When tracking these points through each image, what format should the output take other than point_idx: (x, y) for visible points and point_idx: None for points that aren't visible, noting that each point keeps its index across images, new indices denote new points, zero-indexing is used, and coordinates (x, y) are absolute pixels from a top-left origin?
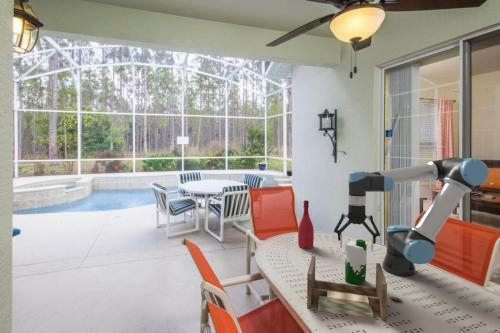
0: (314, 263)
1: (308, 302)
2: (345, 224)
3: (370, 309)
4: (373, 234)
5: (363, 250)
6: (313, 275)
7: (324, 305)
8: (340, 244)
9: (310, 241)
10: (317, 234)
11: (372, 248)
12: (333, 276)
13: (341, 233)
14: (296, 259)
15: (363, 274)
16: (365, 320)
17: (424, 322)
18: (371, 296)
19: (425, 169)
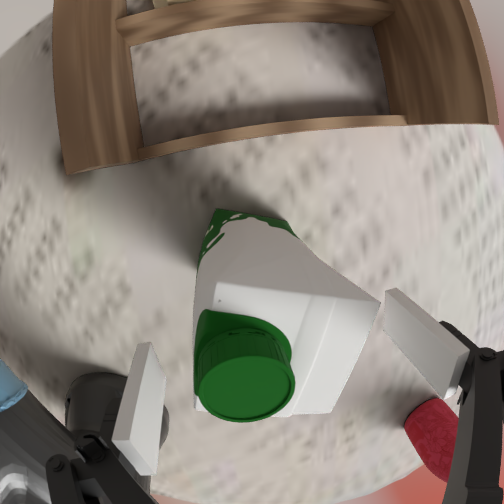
0: (465, 62)
1: None
2: (494, 465)
3: (158, 2)
4: (105, 470)
5: (205, 299)
6: (426, 24)
7: None
8: (411, 301)
9: (424, 425)
10: (379, 481)
11: (137, 357)
12: (340, 247)
13: (450, 389)
14: (458, 316)
15: (205, 237)
16: None
17: (11, 70)
18: (148, 19)
19: None
